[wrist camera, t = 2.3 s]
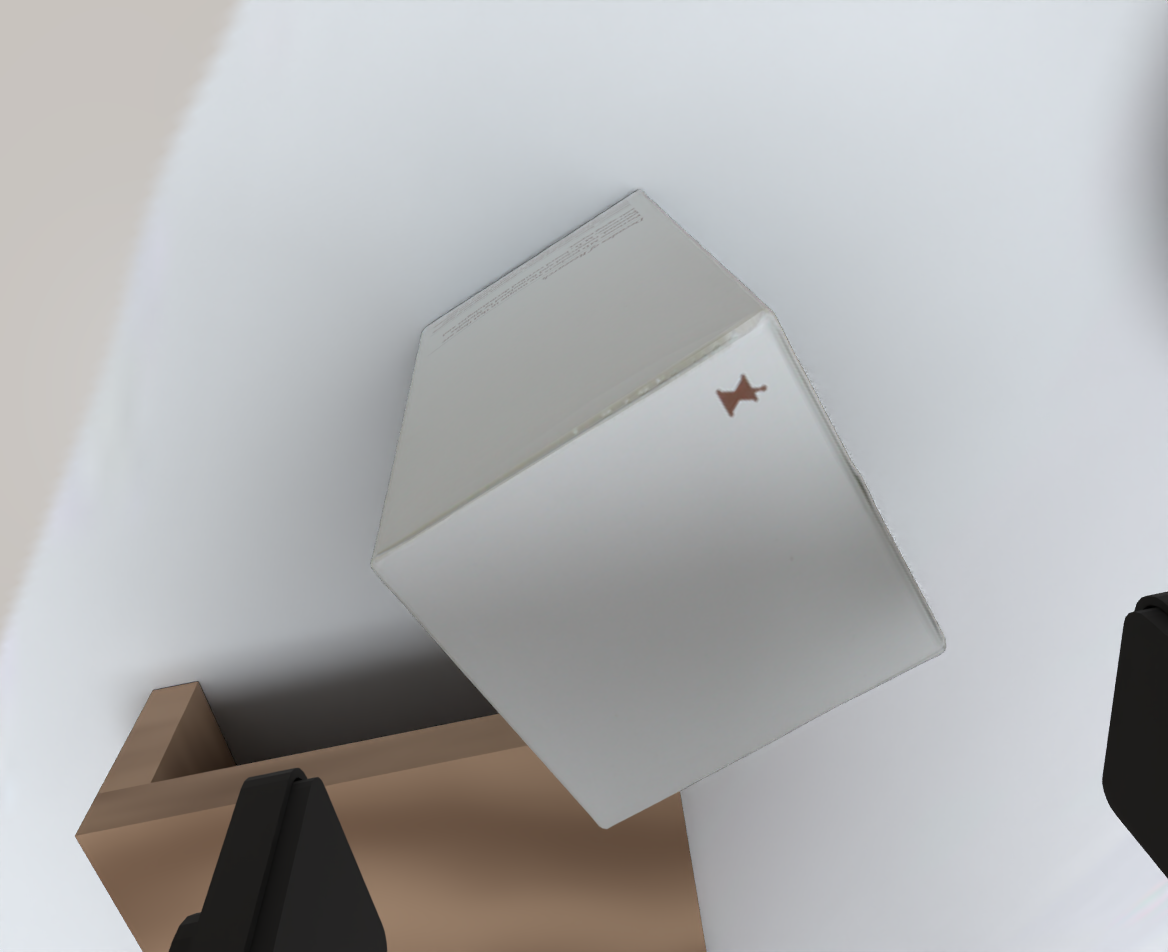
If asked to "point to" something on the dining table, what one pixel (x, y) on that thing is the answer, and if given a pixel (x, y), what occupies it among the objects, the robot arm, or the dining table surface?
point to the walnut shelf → (401, 838)
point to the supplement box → (639, 517)
